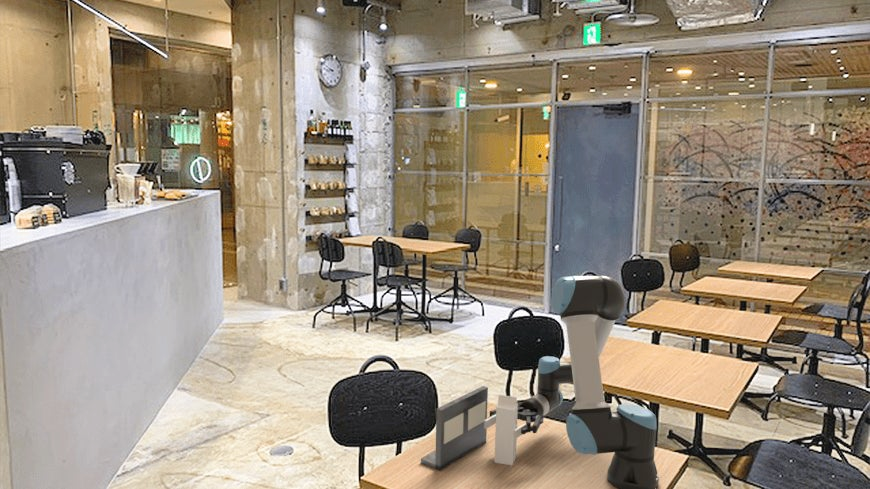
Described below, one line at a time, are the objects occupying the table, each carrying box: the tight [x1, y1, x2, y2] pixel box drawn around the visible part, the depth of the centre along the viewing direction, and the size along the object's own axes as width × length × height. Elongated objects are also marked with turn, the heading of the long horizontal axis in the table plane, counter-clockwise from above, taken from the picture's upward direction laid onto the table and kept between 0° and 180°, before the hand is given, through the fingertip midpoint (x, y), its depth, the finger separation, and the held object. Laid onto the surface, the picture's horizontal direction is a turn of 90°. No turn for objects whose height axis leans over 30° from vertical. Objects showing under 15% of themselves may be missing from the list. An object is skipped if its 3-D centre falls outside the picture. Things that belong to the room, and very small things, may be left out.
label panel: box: [420, 385, 489, 471], centre depth 208 cm, size 8×26×20 cm, turn 142°
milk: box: [494, 394, 519, 467], centre depth 204 cm, size 6×6×22 cm
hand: (499, 429), depth 200 cm, fingers open, 10 cm apart
